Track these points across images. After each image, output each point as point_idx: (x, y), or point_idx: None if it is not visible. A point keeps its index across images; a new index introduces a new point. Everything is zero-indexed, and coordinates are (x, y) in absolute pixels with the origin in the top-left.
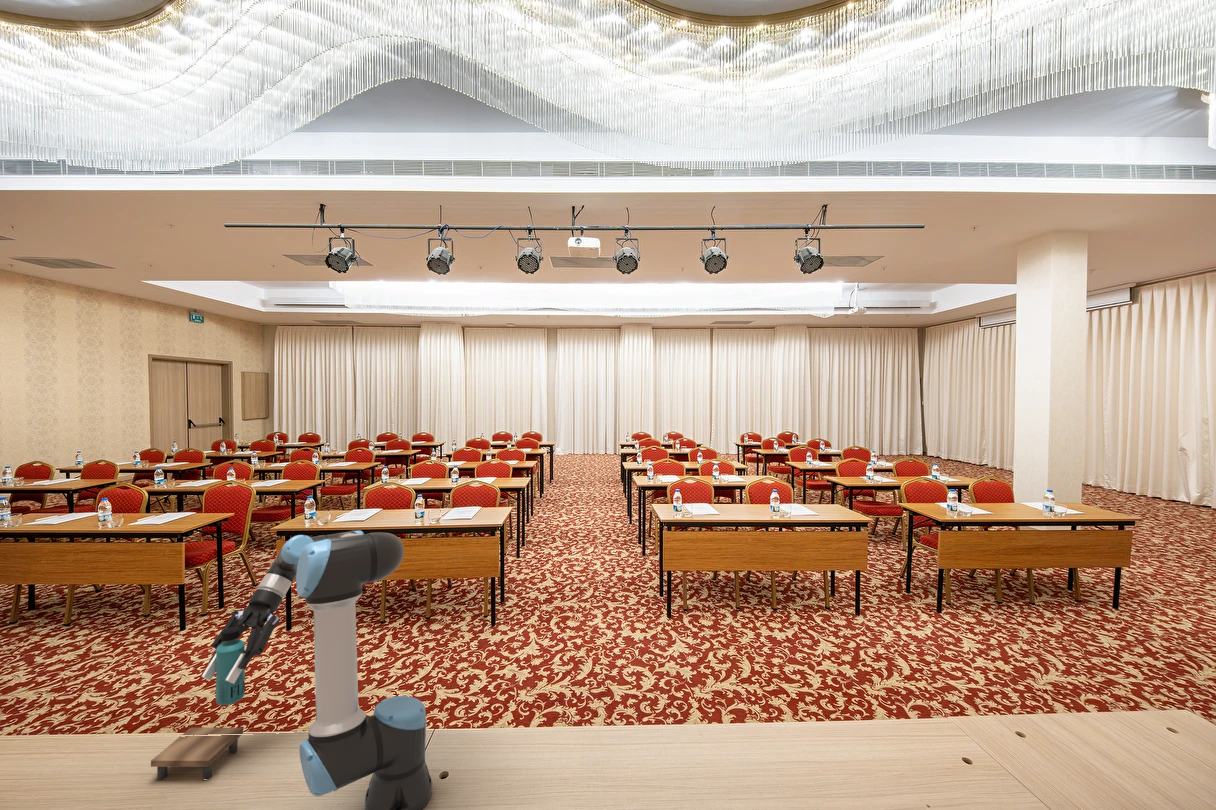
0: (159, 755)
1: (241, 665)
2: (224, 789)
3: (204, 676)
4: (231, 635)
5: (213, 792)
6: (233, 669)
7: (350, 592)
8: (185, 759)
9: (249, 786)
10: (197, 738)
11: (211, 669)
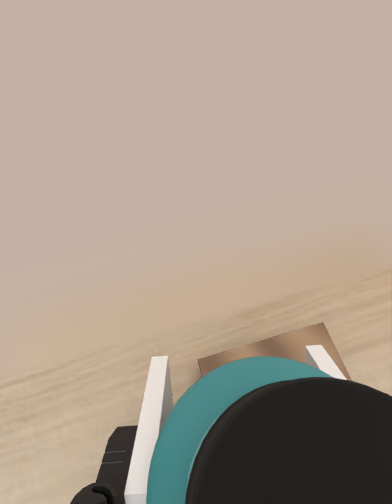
0: (326, 340)
1: (119, 438)
2: (149, 362)
3: (306, 350)
4: (213, 438)
5: (163, 350)
6: (149, 394)
7: None
8: (253, 347)
9: (106, 384)
10: None
11: None
